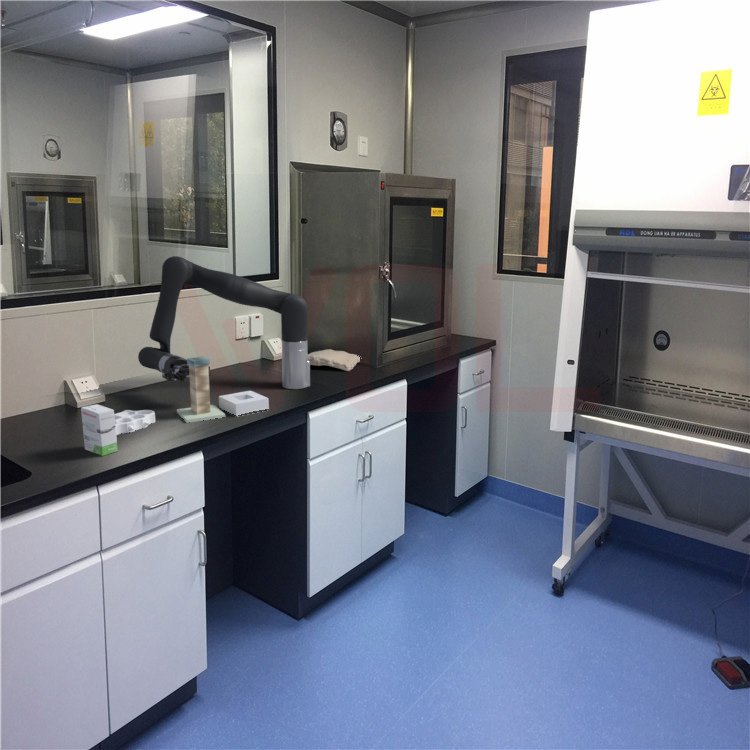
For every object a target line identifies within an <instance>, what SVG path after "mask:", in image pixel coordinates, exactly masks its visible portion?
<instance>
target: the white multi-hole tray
mask: <svg viewBox="0 0 750 750" xmlns="http://www.w3.org/2000/svg"><path fill="white" fill-rule="evenodd" d="M114 417H115V426H116V436H118V435H121V433H122V434H129V432H130V433H133V432H136V431H137V430H141V429H142V428H143V429H146V428H147V427H148V426H149V425H151V423H152V424H154V423H156V413H155V411H154V410H151V409H143V410H142V409H141V410H132V409H131V410H130V409H124V410H123V411H121V412H117V413H114ZM135 430H136V431H135Z"/></svg>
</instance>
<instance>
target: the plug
mask: <svg viewBox="0 0 750 750" xmlns="http://www.w3.org/2000/svg"><path fill="white" fill-rule="evenodd" d="M186 360H187V364H189V377H188V378H189V393H190V394H189V395H190V398H189V399H190V408H191V412H193V413H195V414H197V415H199V414H205V413H210V405H211V395H210V391H211V390H210V378H209V369H208V366H210V359H209V358H207V357H204V356H196V357H195V356H194V357H189V358H186Z"/></svg>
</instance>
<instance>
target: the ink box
mask: <svg viewBox="0 0 750 750" xmlns="http://www.w3.org/2000/svg"><path fill="white" fill-rule="evenodd" d="M80 411H81V412H80V413H81V422H82V423H81V424H82V432H83V441H84V442H83V443H84V450H85V451H89V452H90V453H93V454H96V455H98V456H102V457H103V456H107V455H110V454H113V453H116V452H118V451H119V447H118V438H117V436H118V435H116V426H115V417H114V414H115V410H114V409H112V408H109V407H106V406H104V405H100V404H99V403H98V404H97V403H96V404H91V405H87V406H82V407H81V408H80Z"/></svg>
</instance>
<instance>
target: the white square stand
mask: <svg viewBox="0 0 750 750" xmlns="http://www.w3.org/2000/svg"><path fill="white" fill-rule="evenodd" d="M269 403H270V400H269V398H268V397H267V396H264V395H262V394H260V393H258V392H255V391H253V390H245V391H240V392H234V393H229V394H223V395H218V408H219V409H220V408H221V409H220V410H221V411H222V410H223V411H224V410H225V412H226V411H227V412H226V413H228V412H229V413H228V414H230V413H231V414H230V415H232V414H234V415H236V416H237V417H239V416H238V415H241V414H245V413H249V412H253V411H259V410H265V409H269V410H270V405H269ZM234 415H233V416H234ZM236 416H235V417H236Z"/></svg>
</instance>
